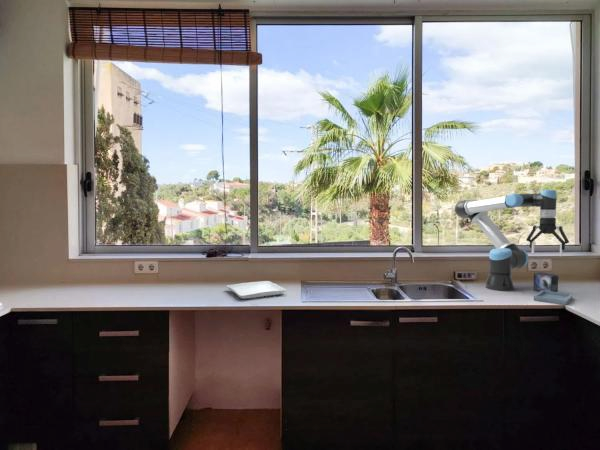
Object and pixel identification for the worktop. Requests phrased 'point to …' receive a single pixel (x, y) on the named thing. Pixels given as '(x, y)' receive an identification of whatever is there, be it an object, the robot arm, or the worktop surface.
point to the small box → (545, 282)
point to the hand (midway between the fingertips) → (546, 254)
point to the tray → (553, 297)
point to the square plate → (256, 289)
